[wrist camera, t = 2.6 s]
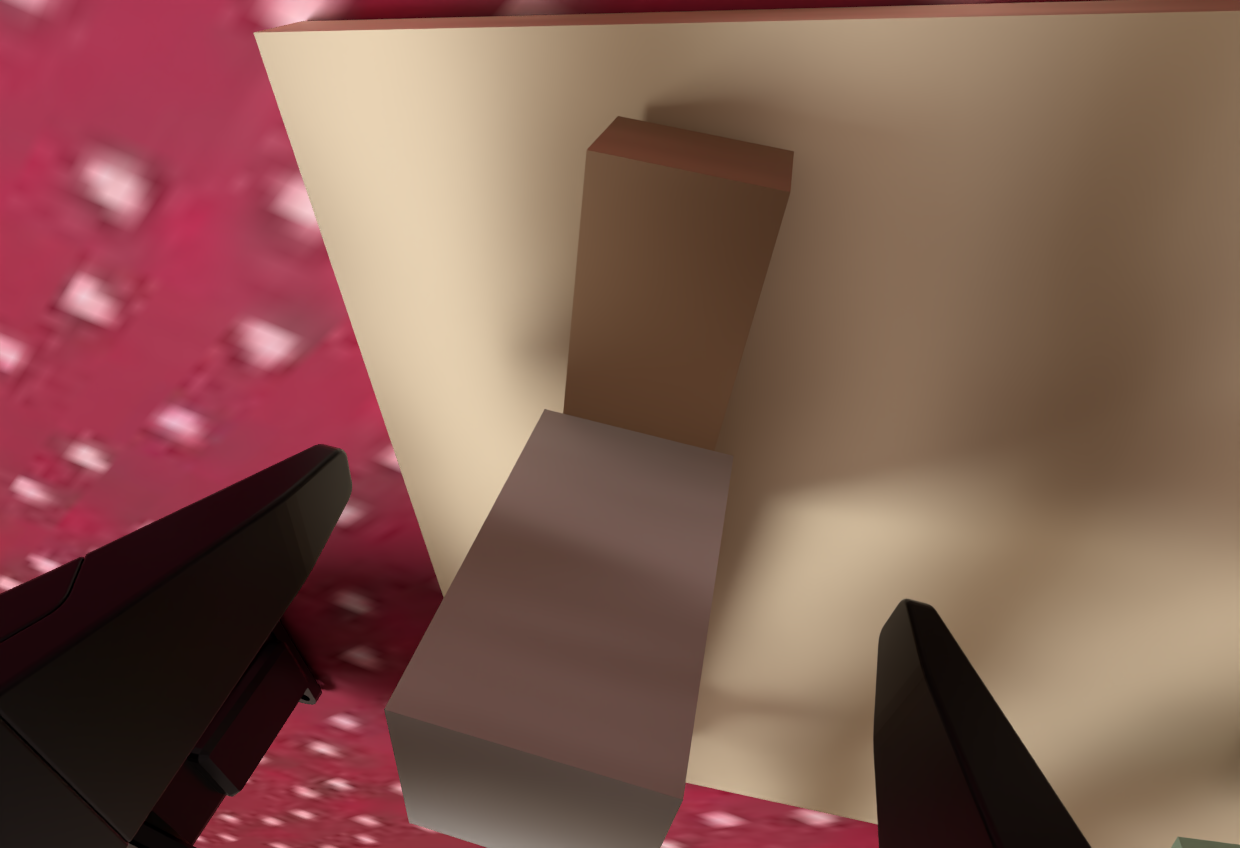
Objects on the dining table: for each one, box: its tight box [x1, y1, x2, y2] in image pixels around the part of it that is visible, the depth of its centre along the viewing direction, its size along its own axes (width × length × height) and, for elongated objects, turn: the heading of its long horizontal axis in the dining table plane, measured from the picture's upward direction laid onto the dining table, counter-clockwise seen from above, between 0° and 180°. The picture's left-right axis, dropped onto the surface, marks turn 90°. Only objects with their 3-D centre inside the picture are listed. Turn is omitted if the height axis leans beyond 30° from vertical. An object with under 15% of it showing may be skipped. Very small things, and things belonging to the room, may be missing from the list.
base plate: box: [254, 0, 1240, 848], centre depth 14 cm, size 24×21×1 cm
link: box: [384, 116, 794, 848], centre depth 12 cm, size 18×4×7 cm, turn 173°
